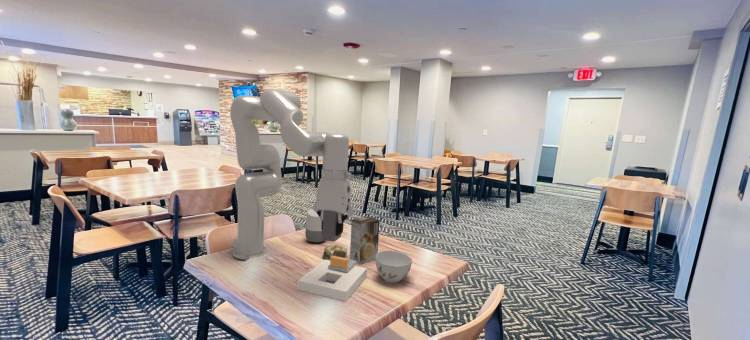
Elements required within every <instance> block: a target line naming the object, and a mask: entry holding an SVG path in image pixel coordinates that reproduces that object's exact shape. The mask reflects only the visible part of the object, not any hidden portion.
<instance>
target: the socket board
mask: <svg viewBox="0 0 750 340" xmlns="http://www.w3.org/2000/svg"><path fill="white" fill-rule="evenodd" d="M329 265H330V260H325V259H323V261H321V262H319V264H317V265H316V266H314V267H313V268H312V269H310V271H308V272H306V273H305V274H304V275H303V276H302V277H300V278H299V279H298V280H297V290H298V291H301V292H304V293H305V292H306V293H309V294H314V295H317V296H322V297H325V298H330V299H334V300H336V301H337V300H338V301H342V302H346V301H347V300H348V299H349V298H350V297H351V296H352V295H353V293H354V292H355V291H356V290H357V289H358V288H359V286H360V285H361V284H362V283H363V282H364V280H365V279H366V277H367V273H368V268H367V267H364V266H358V265H354V266H353V267H352V268H351V269H350V270H349V271H348V272H343V271H338V270H334V269H329V268H328V266H329Z"/></svg>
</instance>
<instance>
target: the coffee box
mask: <svg viewBox="0 0 750 340" xmlns="http://www.w3.org/2000/svg"><path fill="white" fill-rule="evenodd" d="M380 222H381V221H380V219H377V218H374V217H372V216H366V217H365V216H364V217H358V218H354V219H353V218H352V219H351V225H350V226H351V228H350V247H349V248H350V249H349V259H350V260H355V261H357V263H356V265H357V264H358V265H360V266H361V265H363V264H366V263H369V262H373V261H375V256H376V254H377V253H379V237H380Z"/></svg>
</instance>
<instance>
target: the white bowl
mask: <svg viewBox="0 0 750 340" xmlns="http://www.w3.org/2000/svg"><path fill="white" fill-rule="evenodd" d="M374 261H375V267H376V270H377V272H378V274H379V275H380V277H381V278H382V279H383V280H384V281H385V282H386V283H390V284H395V283H400V282H401V280H403V279H404V278H405V277H406V276H407V275H408V274H409V272H410V270H411V267H412V264H413V259H412V257H411V256H409V255H408V254H407V253H404V252H401V251H395V250H382V251H378V253H377V254H376V256H375V260H374Z"/></svg>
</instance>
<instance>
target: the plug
mask: <svg viewBox="0 0 750 340" xmlns="http://www.w3.org/2000/svg"><path fill="white" fill-rule="evenodd" d="M337 223H338V217H337V213H336V212H330V211H323V232H322V240H324V241H328V242H333V243H334V242H336V241H337V240H338V239H340V238H341V237H342V234H340V235H339V236H336V224H337Z"/></svg>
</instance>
